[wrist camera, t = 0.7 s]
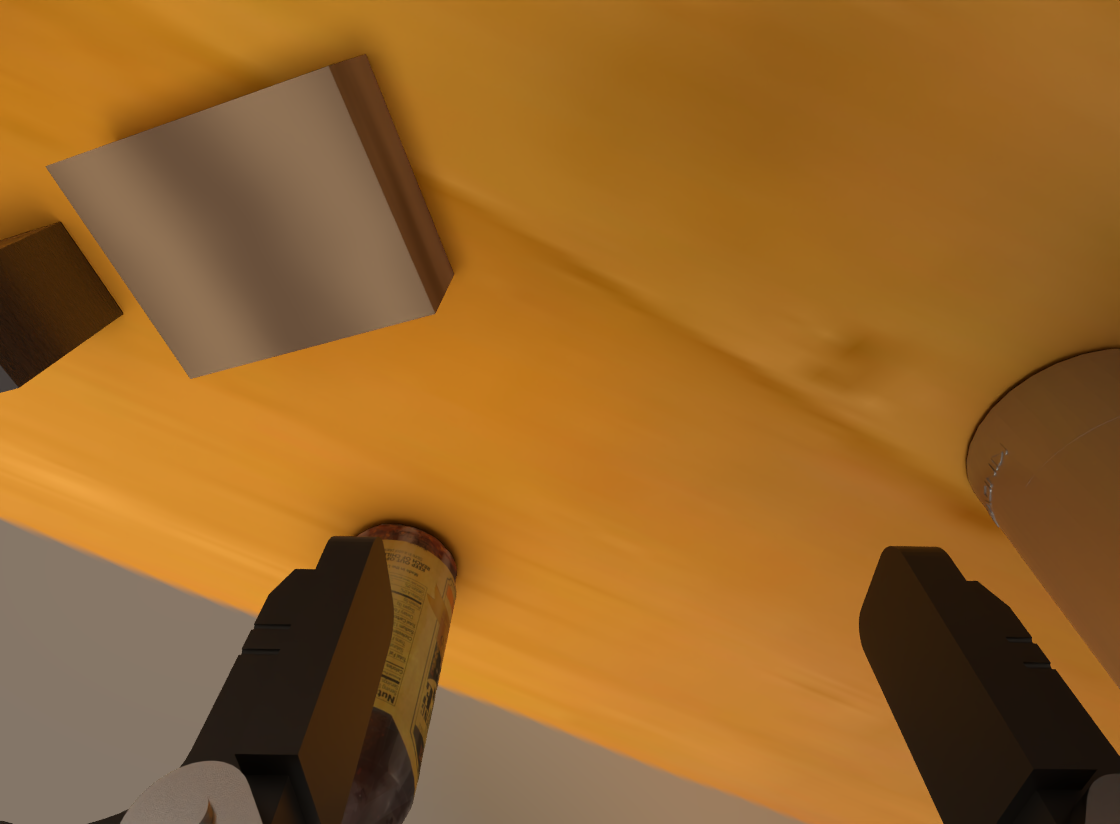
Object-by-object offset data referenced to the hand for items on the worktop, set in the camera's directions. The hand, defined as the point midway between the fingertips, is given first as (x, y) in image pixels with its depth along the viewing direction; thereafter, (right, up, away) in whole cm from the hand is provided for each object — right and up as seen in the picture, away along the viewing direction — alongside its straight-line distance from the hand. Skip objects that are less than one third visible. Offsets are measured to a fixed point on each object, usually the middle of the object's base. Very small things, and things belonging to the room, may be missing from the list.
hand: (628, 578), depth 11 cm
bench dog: (-22, +8, +16) cm, 28 cm away
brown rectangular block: (-11, +11, +14) cm, 21 cm away
